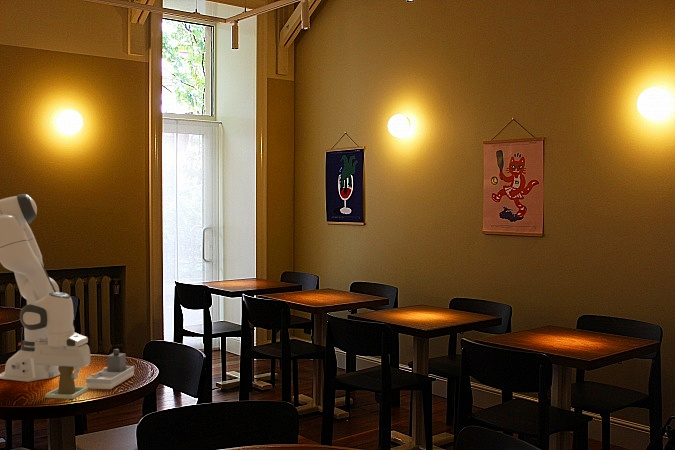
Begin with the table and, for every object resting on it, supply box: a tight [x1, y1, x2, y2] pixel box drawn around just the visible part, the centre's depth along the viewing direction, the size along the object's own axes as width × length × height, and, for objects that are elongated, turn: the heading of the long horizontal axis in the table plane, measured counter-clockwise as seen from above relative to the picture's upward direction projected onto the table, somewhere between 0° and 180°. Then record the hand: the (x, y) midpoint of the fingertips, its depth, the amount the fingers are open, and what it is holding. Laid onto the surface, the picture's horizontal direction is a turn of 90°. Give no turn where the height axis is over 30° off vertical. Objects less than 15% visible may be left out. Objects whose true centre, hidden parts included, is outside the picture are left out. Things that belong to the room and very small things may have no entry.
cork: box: [57, 366, 77, 395], centre depth 252 cm, size 6×6×11 cm
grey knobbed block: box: [106, 348, 127, 372], centre depth 272 cm, size 5×5×9 cm
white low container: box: [85, 365, 135, 390], centre depth 268 cm, size 10×19×4 cm, turn 171°
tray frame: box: [44, 386, 89, 400], centre depth 252 cm, size 10×10×1 cm
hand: (62, 378), depth 251 cm, fingers open, 8 cm apart
